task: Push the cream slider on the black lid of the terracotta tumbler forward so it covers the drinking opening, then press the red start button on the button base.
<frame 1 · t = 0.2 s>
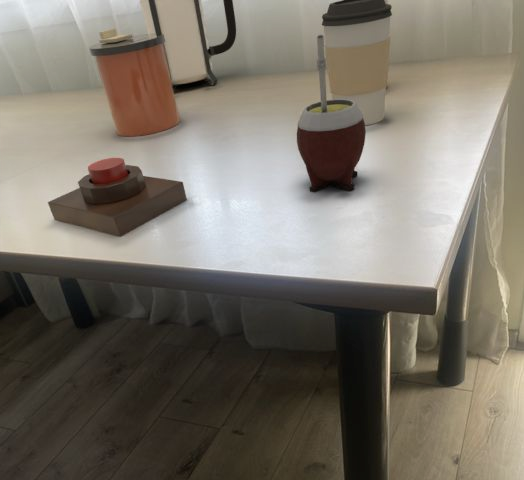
coffee press: (193, 85, 117), on the table
slider: (115, 35, 85), point 14 cm above the table, slide at 0.0 cm
button base: (120, 210, 61), on the table
coffee cup: (359, 121, 77), on the table
mate gourd: (334, 186, 58), on the table
tumbler: (148, 126, 91), on the table
start button: (108, 171, 58), point 4 cm above the table, slide at 0.1 cm
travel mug: (367, 90, 91), on the table
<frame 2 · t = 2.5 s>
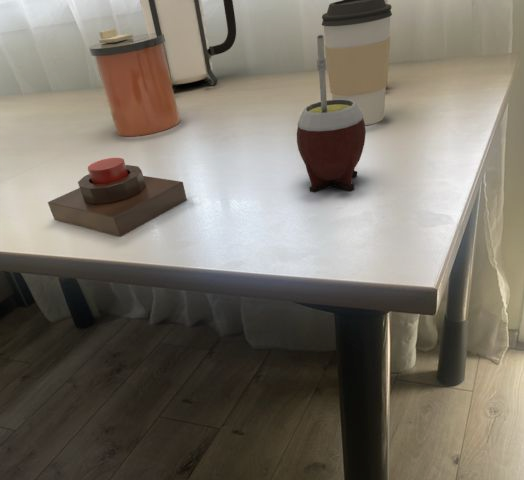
nothing on the table moved.
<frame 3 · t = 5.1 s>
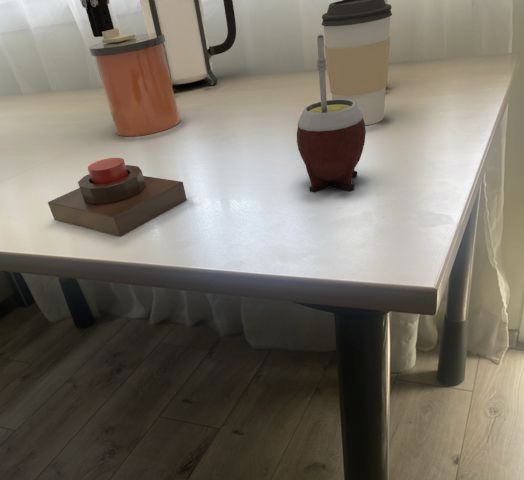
hand: (104, 35, 86), 14 cm above the table, tool pointing down, fingers closed
slider: (117, 34, 84), point 14 cm above the table, slide at 0.7 cm, touching gripper
everything else where it was.
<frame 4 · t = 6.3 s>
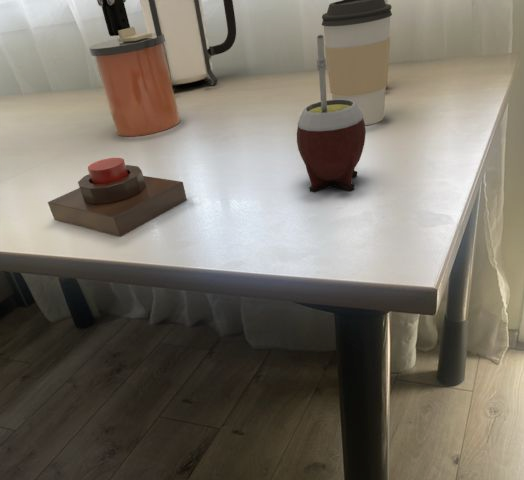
hand: (120, 33, 84), 14 cm above the table, tool pointing down, fingers closed
slider: (134, 33, 82), point 14 cm above the table, slide at 4.7 cm, touching gripper
everything else where it was.
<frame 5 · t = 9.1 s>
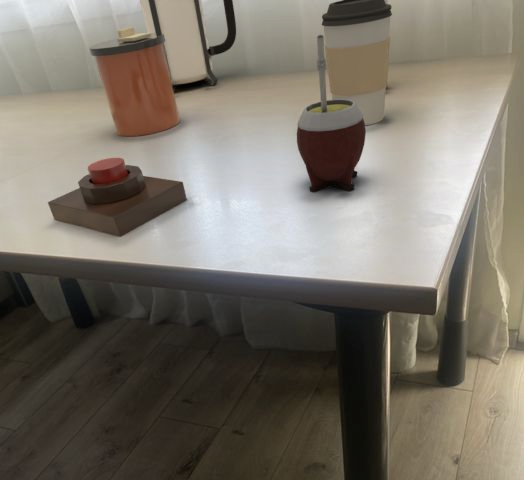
slider: (133, 33, 82), point 14 cm above the table, slide at 4.6 cm
everything else where it was.
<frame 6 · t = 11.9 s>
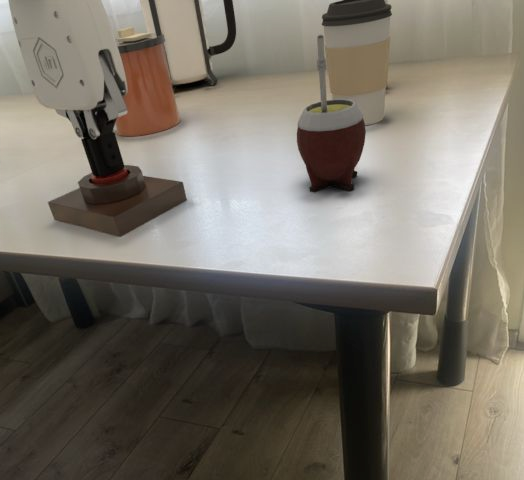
hand: (109, 172, 58), 4 cm above the table, tool pointing down, fingers closed
start button: (110, 180, 59), point 4 cm above the table, slide at -0.8 cm, touching gripper
everything else where it was.
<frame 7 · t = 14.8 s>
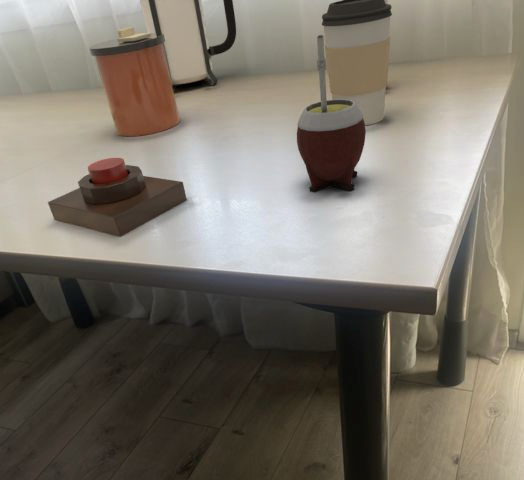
start button: (108, 171, 58), point 4 cm above the table, slide at 0.1 cm
everything else where it was.
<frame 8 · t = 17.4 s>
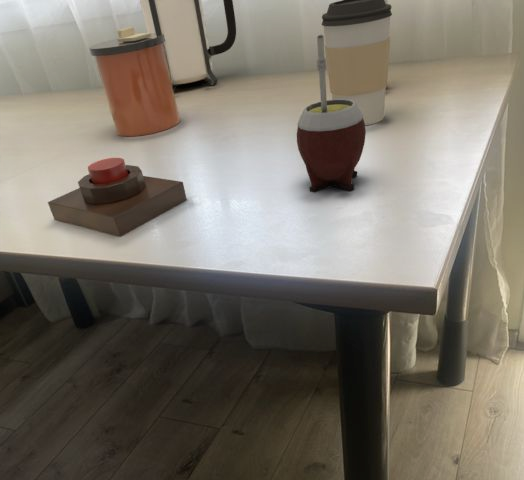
nothing on the table moved.
at the end: slider slide at 4.6 cm; start button pushed in 1.0 cm at the most during the clip, back to where it started at the end; start button slide at 0.1 cm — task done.
